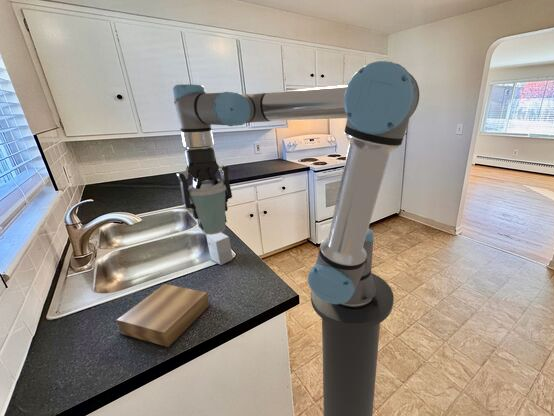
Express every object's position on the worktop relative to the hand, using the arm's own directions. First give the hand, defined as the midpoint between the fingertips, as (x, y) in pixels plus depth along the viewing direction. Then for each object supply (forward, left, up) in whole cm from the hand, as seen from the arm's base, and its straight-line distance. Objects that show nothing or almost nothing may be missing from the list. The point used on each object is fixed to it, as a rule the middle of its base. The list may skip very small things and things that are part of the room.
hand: (213, 224), depth 81 cm
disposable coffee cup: (0, 0, -2) cm, 2 cm away
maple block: (+8, +15, -25) cm, 30 cm away
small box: (+13, -17, -25) cm, 33 cm away
